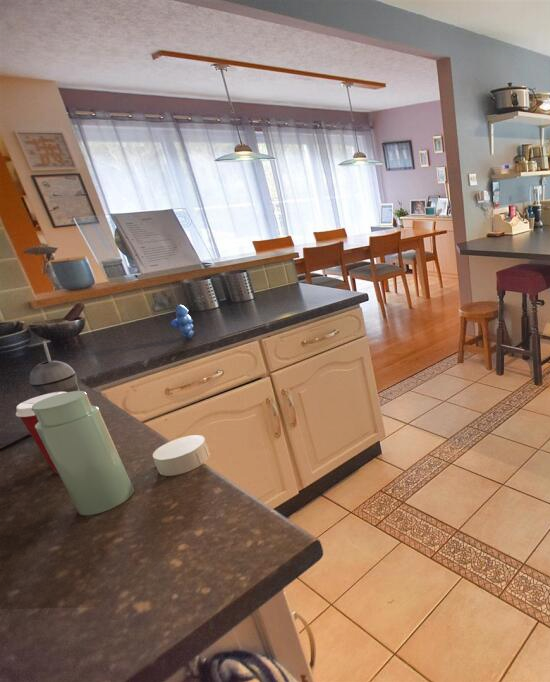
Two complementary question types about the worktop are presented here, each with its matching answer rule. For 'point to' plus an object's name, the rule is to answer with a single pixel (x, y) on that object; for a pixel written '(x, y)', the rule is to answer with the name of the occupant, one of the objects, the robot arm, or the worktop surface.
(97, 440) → the thermos
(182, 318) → the grapes
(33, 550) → the worktop surface
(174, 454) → the thermos lid
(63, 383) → the beverage cup
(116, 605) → the worktop surface
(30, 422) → the paper cup
